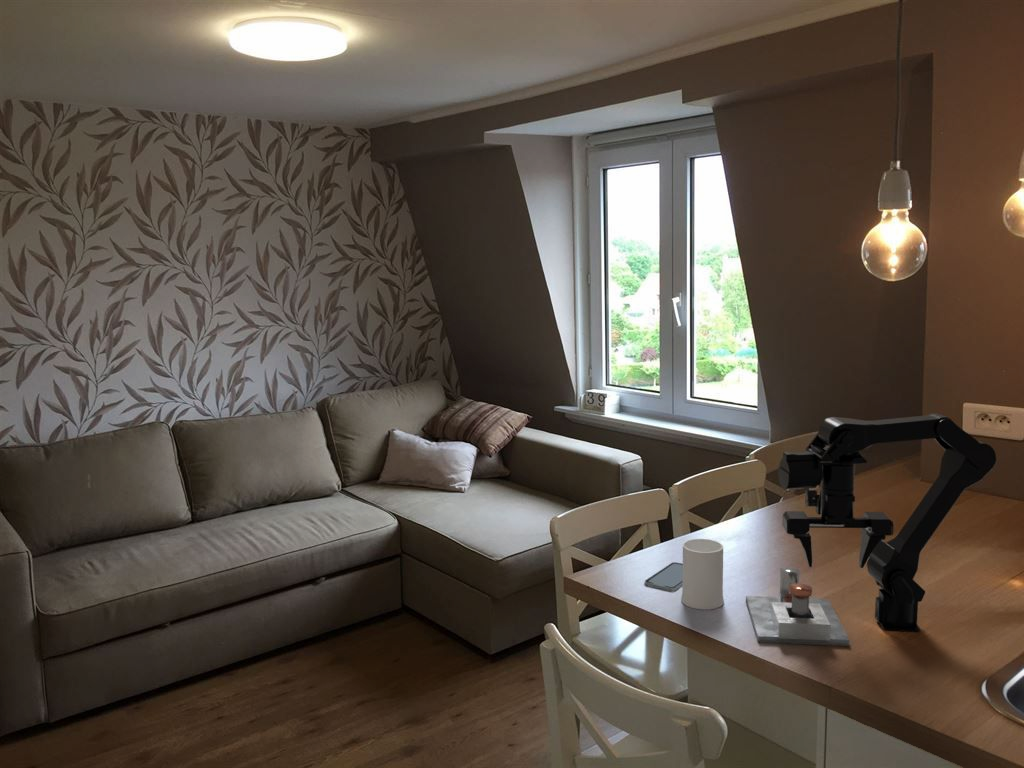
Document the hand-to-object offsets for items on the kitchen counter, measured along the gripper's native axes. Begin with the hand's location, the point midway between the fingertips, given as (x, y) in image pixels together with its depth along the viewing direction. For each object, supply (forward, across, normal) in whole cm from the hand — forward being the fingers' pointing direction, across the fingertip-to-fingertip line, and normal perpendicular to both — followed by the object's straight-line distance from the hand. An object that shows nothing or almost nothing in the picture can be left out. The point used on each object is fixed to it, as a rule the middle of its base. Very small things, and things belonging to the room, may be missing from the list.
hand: (835, 566), depth 159 cm
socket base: (+12, +7, -1) cm, 14 cm away
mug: (+12, +23, -11) cm, 28 cm away
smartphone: (+12, +29, -22) cm, 39 cm away
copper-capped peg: (+11, +7, +4) cm, 13 cm away
